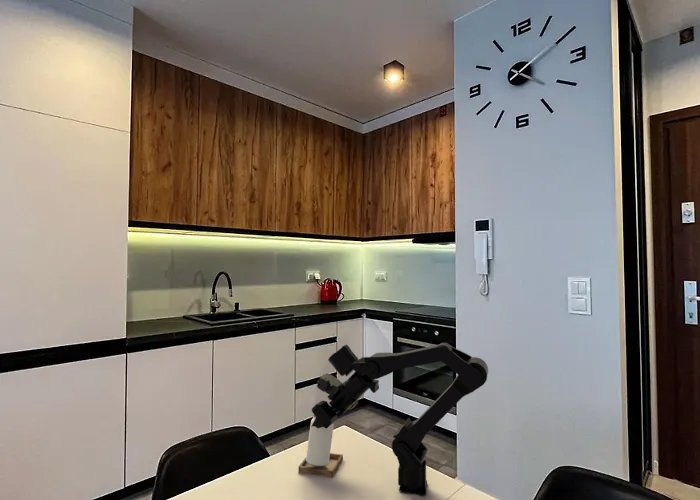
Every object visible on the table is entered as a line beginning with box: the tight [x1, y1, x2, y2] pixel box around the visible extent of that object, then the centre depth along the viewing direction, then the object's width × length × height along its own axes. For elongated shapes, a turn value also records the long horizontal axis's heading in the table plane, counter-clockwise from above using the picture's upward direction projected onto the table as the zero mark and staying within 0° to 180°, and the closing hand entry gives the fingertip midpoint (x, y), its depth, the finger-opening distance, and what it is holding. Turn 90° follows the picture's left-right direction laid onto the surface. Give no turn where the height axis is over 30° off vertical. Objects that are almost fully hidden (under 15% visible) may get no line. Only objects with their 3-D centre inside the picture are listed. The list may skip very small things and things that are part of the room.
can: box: [305, 414, 335, 466], centre depth 106 cm, size 6×6×12 cm
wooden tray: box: [298, 452, 344, 478], centre depth 107 cm, size 10×10×2 cm
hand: (318, 423), depth 108 cm, fingers closed on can, 6 cm apart
